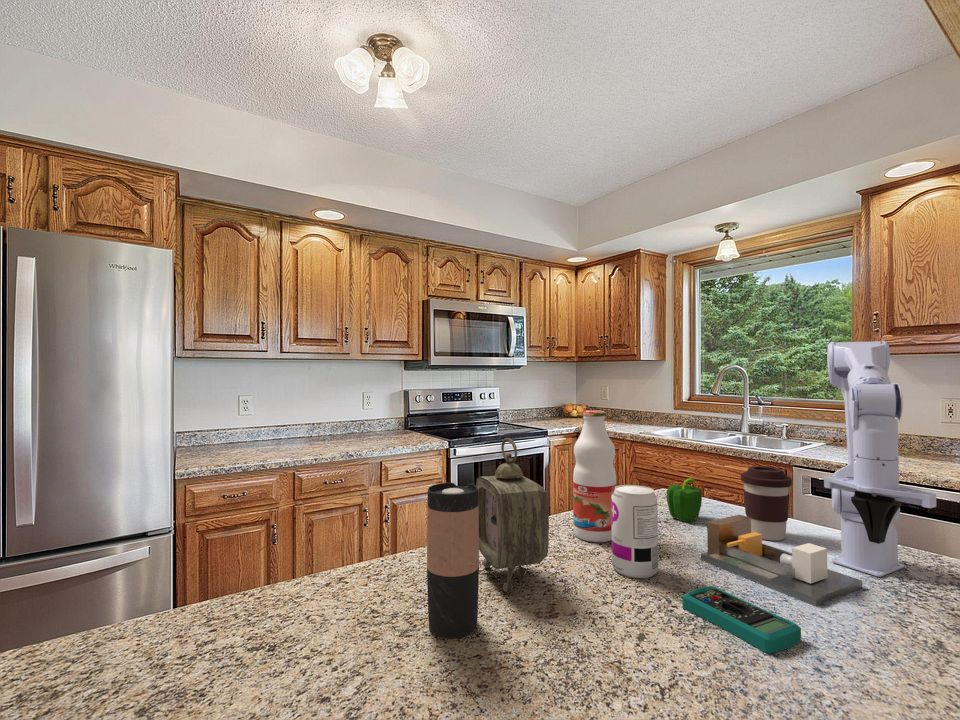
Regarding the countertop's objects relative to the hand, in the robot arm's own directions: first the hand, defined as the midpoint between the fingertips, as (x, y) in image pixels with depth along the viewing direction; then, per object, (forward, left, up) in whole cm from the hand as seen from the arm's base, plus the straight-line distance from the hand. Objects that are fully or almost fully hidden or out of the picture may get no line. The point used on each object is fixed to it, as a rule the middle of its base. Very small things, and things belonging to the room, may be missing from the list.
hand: (876, 541), depth 79 cm
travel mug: (+64, -25, -10) cm, 69 cm away
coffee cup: (-14, -27, -10) cm, 32 cm away
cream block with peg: (+4, -10, -8) cm, 13 cm away
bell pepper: (-8, -44, -10) cm, 46 cm away
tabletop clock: (+48, -35, -10) cm, 60 cm away
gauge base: (+4, -14, -9) cm, 17 cm away
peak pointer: (+6, -19, -8) cm, 21 cm away
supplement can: (+26, -27, -10) cm, 39 cm away
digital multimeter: (+27, -6, -10) cm, 29 cm away
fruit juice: (+20, -45, -10) cm, 50 cm away
